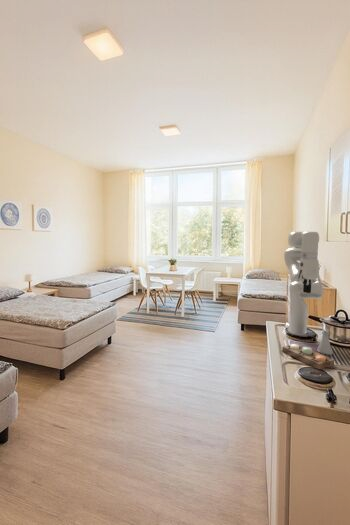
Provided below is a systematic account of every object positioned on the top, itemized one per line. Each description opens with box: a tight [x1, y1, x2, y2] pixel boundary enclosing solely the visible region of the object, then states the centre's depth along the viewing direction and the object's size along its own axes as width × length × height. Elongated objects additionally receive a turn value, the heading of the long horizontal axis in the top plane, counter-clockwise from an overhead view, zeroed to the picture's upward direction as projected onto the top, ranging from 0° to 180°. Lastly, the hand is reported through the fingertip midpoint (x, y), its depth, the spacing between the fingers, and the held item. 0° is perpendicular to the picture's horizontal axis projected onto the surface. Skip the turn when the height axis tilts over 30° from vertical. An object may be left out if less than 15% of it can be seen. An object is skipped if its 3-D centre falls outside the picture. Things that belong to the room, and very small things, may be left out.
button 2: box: [302, 346, 313, 356], centre depth 125 cm, size 4×4×3 cm
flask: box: [317, 331, 333, 356], centre depth 131 cm, size 7×7×10 cm
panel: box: [281, 343, 335, 370], centre depth 125 cm, size 20×10×3 cm, turn 25°
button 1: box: [289, 343, 300, 350], centre depth 131 cm, size 4×4×3 cm
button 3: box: [315, 355, 326, 362], centre depth 118 cm, size 4×4×3 cm
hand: (306, 292), depth 134 cm, fingers closed
